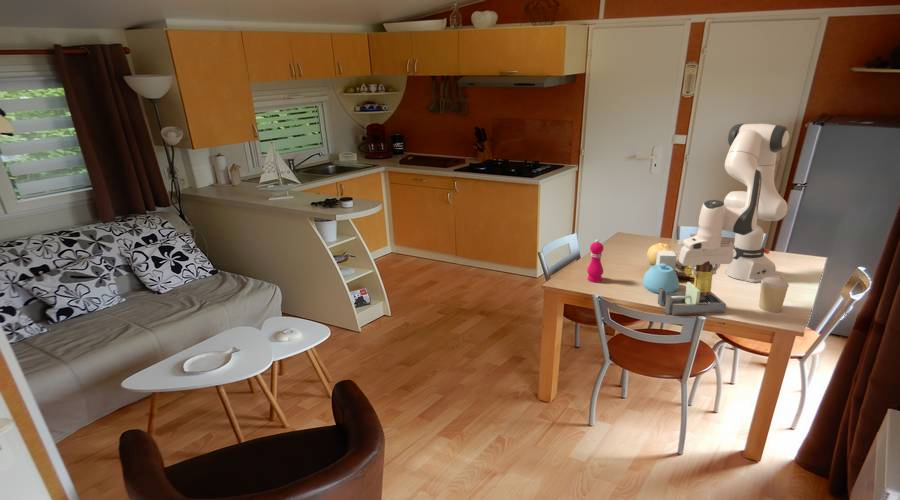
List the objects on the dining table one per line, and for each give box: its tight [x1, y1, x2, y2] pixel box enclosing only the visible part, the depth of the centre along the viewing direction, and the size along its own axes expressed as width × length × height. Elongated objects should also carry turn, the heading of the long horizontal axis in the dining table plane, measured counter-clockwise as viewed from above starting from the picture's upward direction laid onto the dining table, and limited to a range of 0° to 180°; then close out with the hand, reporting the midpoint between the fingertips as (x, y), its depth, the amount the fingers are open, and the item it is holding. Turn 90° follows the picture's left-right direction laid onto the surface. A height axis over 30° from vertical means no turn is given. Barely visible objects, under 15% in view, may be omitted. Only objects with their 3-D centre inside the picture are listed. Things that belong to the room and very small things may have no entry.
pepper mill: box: [586, 239, 605, 283], centre depth 239 cm, size 7×7×20 cm
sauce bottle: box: [693, 261, 714, 296], centre depth 207 cm, size 7×6×20 cm
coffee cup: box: [758, 277, 790, 314], centre depth 207 cm, size 9×9×12 cm
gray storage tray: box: [657, 288, 727, 316], centre depth 211 cm, size 22×12×7 cm, turn 91°
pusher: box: [671, 281, 700, 304], centre depth 211 cm, size 9×9×9 cm
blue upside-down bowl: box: [642, 263, 680, 294], centre depth 229 cm, size 15×15×12 cm
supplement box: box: [656, 250, 677, 272], centre depth 239 cm, size 7×7×13 cm
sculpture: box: [646, 242, 673, 266], centre depth 256 cm, size 11×12×11 cm
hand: (703, 274), depth 207 cm, fingers closed on sauce bottle, 6 cm apart
